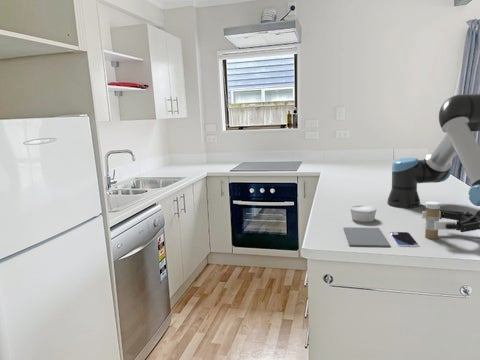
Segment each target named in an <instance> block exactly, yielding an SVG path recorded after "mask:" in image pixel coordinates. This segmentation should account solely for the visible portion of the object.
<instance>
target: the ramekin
mask: <svg viewBox="0 0 480 360" xmlns="http://www.w3.org/2000/svg"><path fill="white" fill-rule="evenodd" d="M349 209H350V215H351V218H352V220H353V221H354V222H358V223H370V222H371V223H372V222H373V221H374V220H375V219H376V213H377V208H376V207H374V206H371V205H361V204H360V205H352V206H350V208H349Z"/></svg>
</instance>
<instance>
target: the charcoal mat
mask: <svg viewBox="0 0 480 360" xmlns="http://www.w3.org/2000/svg"><path fill="white" fill-rule="evenodd" d="M343 231H344V235H345V238H346V240H347V243H348V246H349V247H365V248H366V247H368V248H370V247H371V248H372V247H373V248H376V247H377V248H391V247H392V246H391V244H390V242H389V241H388V239H387V237H385V235H384V233H383V232H382V230H381V229H380V227H350V226H349V227H347V226H345V227H343Z"/></svg>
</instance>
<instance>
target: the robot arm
mask: <svg viewBox="0 0 480 360" xmlns="http://www.w3.org/2000/svg"><path fill="white" fill-rule="evenodd" d="M438 123H439V126H440V128H441V130H442V132H444V133H446V134H445V136H443V138H442V140H441V141H440V143H439V144H438V145H437V146H436V148H435V149H434V151H433V152H430V153H428V154H427V155H426V156H425V158H424V159H418V158H417V157H403V158H398V159H396V160H394V161H392V162H393V163H392V168H391V190H390V192H389V195H388V198H387V205H389V206H391V207H395V208H403V209H408V208H409V209H410V208H417V207H419V206H421V199H420V195H419V193H418V184H430V183H431V184H432V183H433V184H434V183H442V182H444V181H447V180H448V178H450V175H451V171H452V165H451V162H452V160H453V159H454V158H455V156H456V155H457V157H458V159H459V160H458V161H460V164H461V165H462V167H463V170H464V172H465V174H466V176H467V178H468V180H469V183H470V185H471V186H470V188H469V190H468V199H469V201H470V203H471V204H472V205H474V206H475V207H480V146H479V143H478V141H477V140H476V137H475V136H474V133H476V132H480V93H475V94H473V93H472V94H456V95H453V96H451V97H449V98H447V99H446V100H445V101H444V102H443V103H442V105H441V107H440V110H439V111H438ZM421 219H426V210H424V211H423V210H422V211H421ZM442 219H447V220H453V221H439V222H435V230H438V231H440V230H442V231H443V230H445V231H446V230H447V231H449V230H451V231H453V230H454V231H455V230H456V231H460V232H461V233H466V232H472V231H478V230H480V209H479V210H477V211H476V213H475V214H473V213H470V212H469V211H459V210H449V209H441V208H440V209H439V220H442Z"/></svg>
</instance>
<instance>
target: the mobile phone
mask: <svg viewBox="0 0 480 360" xmlns="http://www.w3.org/2000/svg"><path fill="white" fill-rule="evenodd" d="M388 234H389V237H390V238H391V239H392V241H393V243H394V244H395V245H396V246H397V247H399V248H400V247H401V248H402V247H405V248H407V247H408V248H418V247H420V244H419V242H418V241H416V240H415V238H414V237H413V236H412V234H411V233H409V232H407V231H390V232H388Z"/></svg>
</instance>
